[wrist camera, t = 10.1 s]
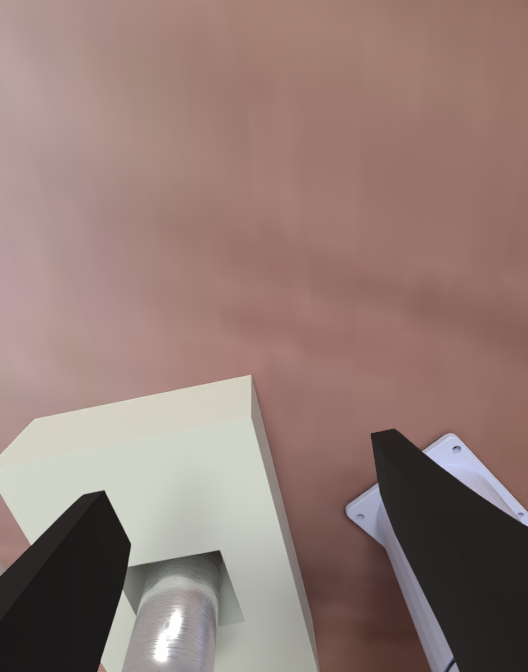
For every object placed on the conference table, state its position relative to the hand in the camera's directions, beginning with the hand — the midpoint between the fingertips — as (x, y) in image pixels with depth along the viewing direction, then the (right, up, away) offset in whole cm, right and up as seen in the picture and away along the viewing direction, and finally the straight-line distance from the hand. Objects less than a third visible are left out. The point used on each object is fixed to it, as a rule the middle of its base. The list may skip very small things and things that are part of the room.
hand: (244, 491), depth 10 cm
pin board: (-4, -8, +14) cm, 16 cm away
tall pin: (-4, -8, +14) cm, 16 cm away
